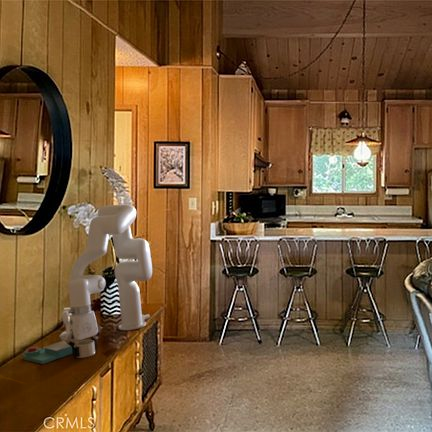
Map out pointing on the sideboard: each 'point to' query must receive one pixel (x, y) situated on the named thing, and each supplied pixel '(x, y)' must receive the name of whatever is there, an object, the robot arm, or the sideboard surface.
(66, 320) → the figurine
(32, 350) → the tare button
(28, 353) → the scale
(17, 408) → the sideboard surface
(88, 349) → the cup
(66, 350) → the weighing plate
